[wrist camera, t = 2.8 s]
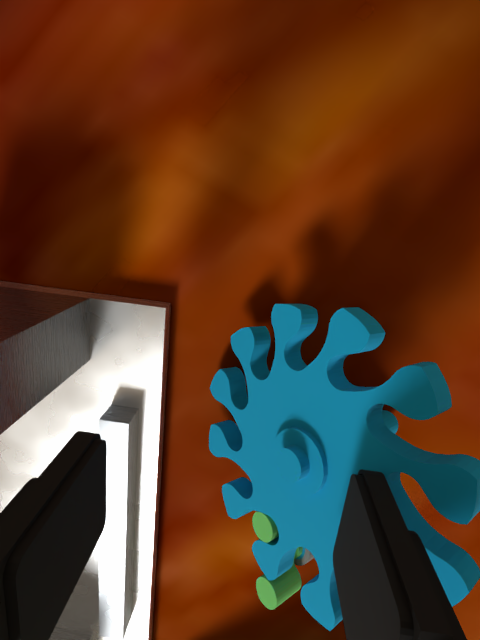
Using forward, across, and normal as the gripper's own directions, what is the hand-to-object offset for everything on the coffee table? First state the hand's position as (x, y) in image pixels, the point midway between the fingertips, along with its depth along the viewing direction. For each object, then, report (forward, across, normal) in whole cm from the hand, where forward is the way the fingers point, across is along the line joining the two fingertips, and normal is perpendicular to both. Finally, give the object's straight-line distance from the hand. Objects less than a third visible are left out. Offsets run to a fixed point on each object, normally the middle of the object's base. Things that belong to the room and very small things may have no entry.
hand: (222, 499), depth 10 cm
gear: (+7, 0, 0) cm, 7 cm away
